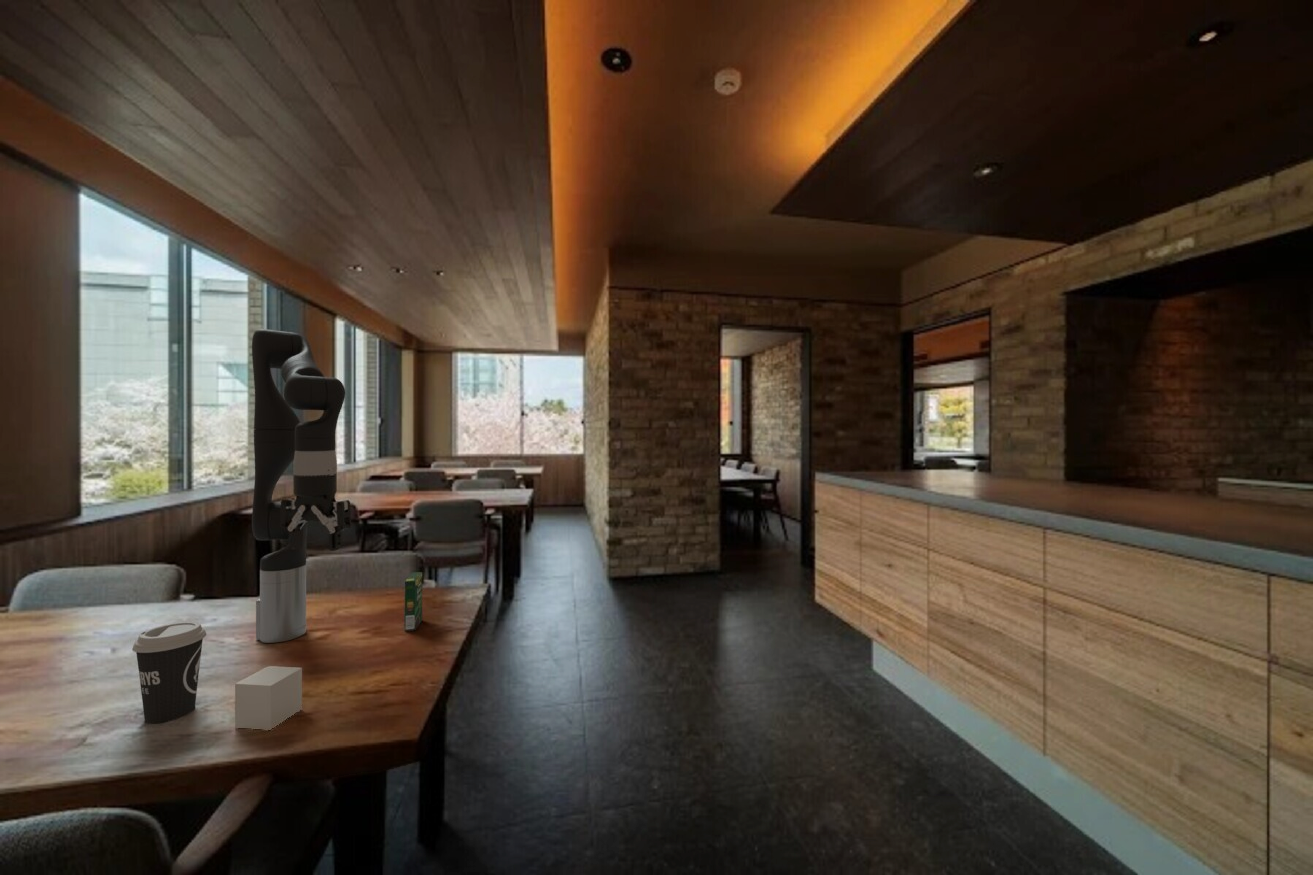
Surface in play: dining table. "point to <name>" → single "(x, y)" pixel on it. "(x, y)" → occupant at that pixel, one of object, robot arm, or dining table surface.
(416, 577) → the coffee box
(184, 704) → the coffee cup
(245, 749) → the dining table surface
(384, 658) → the dining table surface
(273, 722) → the block
